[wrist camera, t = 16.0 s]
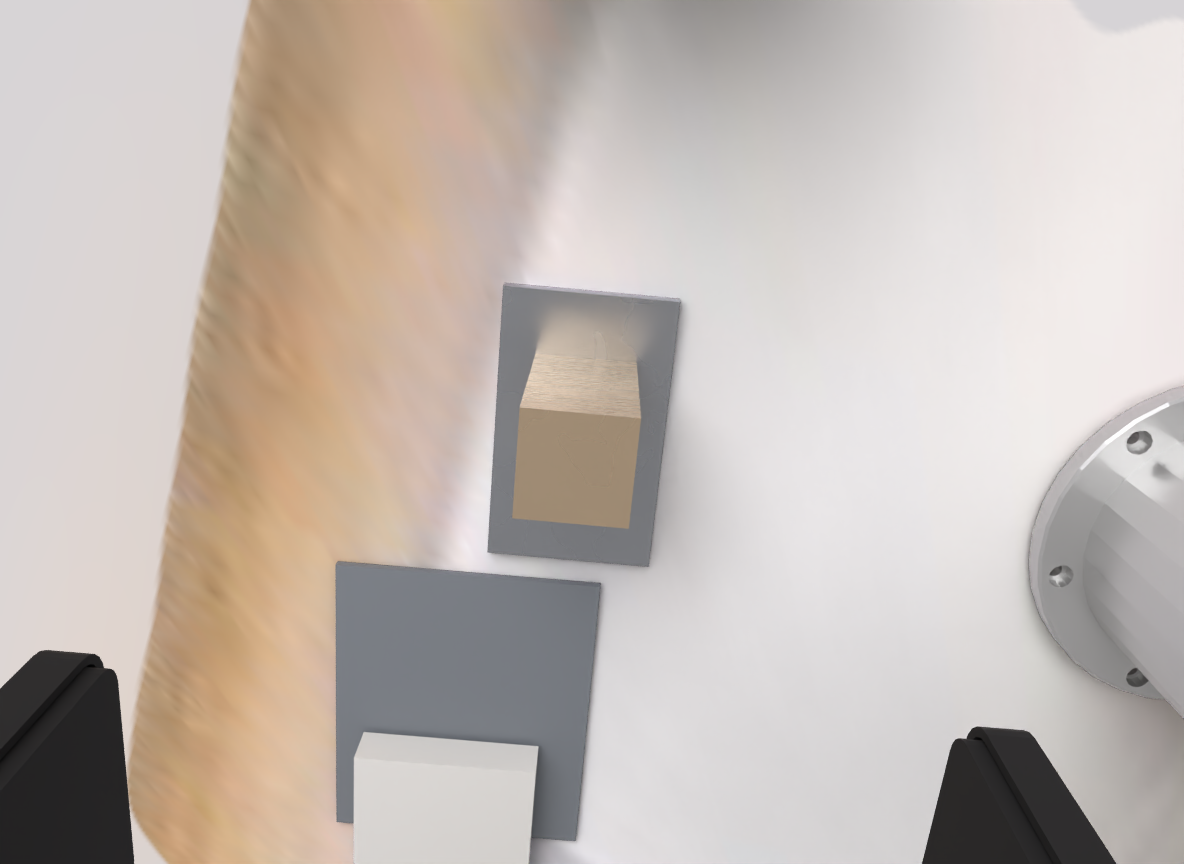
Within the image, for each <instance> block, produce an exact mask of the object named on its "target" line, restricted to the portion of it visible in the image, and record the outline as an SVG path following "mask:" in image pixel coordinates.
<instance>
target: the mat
mask: <svg viewBox="0 0 1184 864" xmlns="http://www.w3.org/2000/svg"><path fill="white" fill-rule="evenodd" d="M599 596H600V583H592V582H580V581H568V580H556V579H544V578H532V577H520V576H508V575H496V574H484V573H472V572H460V571H448V570H436V569H424V568H412V567H400V566H388V565H376V564H364V563H352V562H340V561H338V562H337V563H336V797H337V822H343V823H354V756H355V754H356V751H357V748H358V746H359V743H360V741H361V738H362V735H363V733H364V732H371V733H383V734H395V735H407V736H419V737H432V738H444V739H456V740H468V741H481V742H493V743H505V744H517V745H529V746H539V747H538V760H537V772H536V785H535V797H534V810H533V822H532V835H531V838H543V839H555V840H567V841H575V840H576V830H577V820H578V810H579V800H580V789H581V779H582V769H583V759H584V749H585V738H586V728H587V718H588V708H589V698H590V688H591V677H592V667H593V657H594V647H595V637H596V626H597V616H598V606H599Z"/></svg>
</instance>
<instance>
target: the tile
mask: <svg viewBox="0 0 1184 864" xmlns="http://www.w3.org/2000/svg"><path fill="white" fill-rule="evenodd" d="M538 747H539V746H529V745H517V744H505V743H493V742H481V741H468V740H456V739H444V738H432V737H419V736H407V735H395V734H383V733H371V732H364V733H363V735H362V738H361V741H360V743H359V746H358V748H357V751H356V754H355V756H354V860H353V864H529V860H530V847H531V835H532V822H533V810H534V797H535V785H536V772H537V760H538Z"/></svg>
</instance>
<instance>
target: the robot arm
mask: <svg viewBox="0 0 1184 864" xmlns="http://www.w3.org/2000/svg"><path fill="white" fill-rule="evenodd" d="M1131 435H1132V436H1131ZM1130 436H1131V437H1130ZM1129 437H1130V438H1129ZM1128 438H1129V439H1128ZM1029 571H1030V582H1031V590H1032V593H1033V596H1034V599H1035V602H1036V605H1037V608H1038V611H1039V614H1040V616H1041V618H1042V620H1043V621H1044V623H1045V624H1046V626H1047V628H1048V629H1049V631H1050V633H1051V634H1052V636H1053V637H1054V639H1055V640H1056V641H1057V642H1058V643H1059V645H1060V646H1061V647H1062V648H1063V649H1064V650H1065V652H1066V653H1067V654H1068V655H1069V656H1070V658H1071V659H1072V660H1073V661H1074V662H1076V663H1077V664H1078V665H1079V666H1081V667H1082V668H1083V669H1084V670H1086V671H1087V672H1088V673H1089V674H1091V675H1092V676H1093V677H1095V678H1097V679H1099V680H1101V681H1102V682H1104V683H1106V684H1108V685H1110V686H1112V687H1114V688H1116V689H1118V690H1121V691H1124V692H1128V693H1131V694H1135V695H1138V696H1142V697H1145V698H1151V699H1160V700H1167V701H1168V702H1169V703H1170V705H1171V706H1172V707H1173V708H1174V709H1175V710H1176V711H1177V712H1178V713H1179V715H1180V716H1181V717H1182V718H1183V719H1184V386H1182V387H1178V388H1174V389H1171V390H1168V391H1166V392H1164V393H1161V394H1159V395H1157V396H1154V397H1152V398H1150V399H1147V400H1145V401H1143V402H1140V403H1138V404H1137V405H1135V406H1133V407H1132V408H1130V409H1129V410H1127V411H1125V412H1124V413H1122V414H1121V415H1119V416H1118V417H1116V418H1114V419H1113V420H1111V421H1110V422H1108V423H1107V424H1106V425H1104V426H1103V427H1102V428H1101V429H1100V430H1099V431H1098V432H1096V433H1095V434H1094V435H1093V436H1092V437H1091V438H1090V439H1088V440H1087V441H1086V442H1085V443H1084V444H1083V445H1082V446H1081V447H1080V448H1079V449H1078V450H1077V451H1076V453H1075V454H1074V455H1073V456H1072V458H1071V459H1070V460H1069V461H1068V462H1067V464H1066V465H1065V466H1064V467H1063V468H1062V470H1061V471H1060V472H1059V473H1058V475H1057V477H1056V479H1055V480H1054V482H1053V484H1052V486H1051V488H1050V489H1049V491H1048V493H1047V495H1046V496H1045V498H1044V500H1043V502H1042V505H1041V507H1040V510H1039V513H1038V516H1037V519H1036V522H1035V525H1034V528H1033V531H1032V538H1031V546H1030V554H1029ZM0 864H134V854H133V843H132V832H131V820H130V809H129V798H128V787H127V776H126V765H125V754H124V743H123V732H122V722H121V710H120V700H119V688H118V680H117V676H116V673H115V672H114V671H113V670H112V669H106V668H104V667H103V663H102V661H101V659H100V657H99V656H97V655H95V654H86V653H75V652H63V651H51V650H44V651H40V652H38V653H37V654H36V655H34V656H33V657H32V658H31V659H30V660H29V661H28V662H27V663H26V664H25V665H24V666H23V667H22V668H21V669H20V670H19V671H18V672H17V673H16V674H15V675H14V676H13V677H12V678H11V679H10V680H9V681H7V682H6V684H4V685H3V686H2V688H1V689H0ZM922 864H1116V862H1115V861H1114V859H1113V858H1112V856H1111V855H1110V853H1109V852H1108V850H1107V848H1106V847H1105V845H1104V844H1103V842H1102V841H1101V839H1100V838H1099V836H1098V835H1097V833H1096V832H1095V830H1094V828H1093V827H1092V825H1091V824H1090V822H1089V821H1088V819H1087V818H1086V816H1085V815H1084V813H1083V812H1082V810H1081V809H1080V807H1079V805H1078V804H1077V802H1076V801H1075V799H1074V798H1073V796H1072V795H1071V793H1070V792H1069V790H1068V789H1067V787H1066V785H1065V784H1064V782H1063V781H1062V779H1061V778H1060V776H1059V775H1058V773H1057V772H1056V770H1055V769H1054V767H1053V765H1052V764H1051V762H1050V761H1049V759H1048V758H1047V756H1046V755H1045V753H1044V752H1043V750H1042V749H1041V747H1040V746H1039V744H1038V742H1037V741H1036V739H1035V738H1034V737H1033V736H1032V735H1031V734H1030V732H1027V731H1024V730H1013V729H1000V728H988V727H975V728H972V730H971V731H970V732H969V734H968V736H967V739H960V738H959V739H956V740H955V741H954V742H953V744H952V747H951V749H950V753H949V757H948V761H947V765H946V769H945V773H944V777H943V781H942V785H941V789H940V793H939V797H938V801H937V805H936V809H935V814H934V818H933V822H932V826H931V830H930V834H929V838H928V842H927V846H926V850H925V854H924V858H923V862H922Z"/></svg>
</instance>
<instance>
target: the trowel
mask: <svg viewBox="0 0 1184 864" xmlns="http://www.w3.org/2000/svg"><path fill="white" fill-rule="evenodd" d="M679 310H680V299H679V298H669V297H658V296H647V295H636V294H625V293H614V292H603V291H592V290H581V289H570V288H559V287H548V286H537V285H526V284H515V283H504V285H503V298H502V315H501V332H500V349H499V366H498V383H497V400H496V417H495V434H494V451H493V468H492V485H491V502H490V519H489V536H488V552H490V553H501V554H512V555H524V556H535V557H546V558H557V559H568V560H579V561H590V562H602V563H613V564H624V565H635V566H646V567H649V559H650V551H651V542H652V534H653V526H654V517H655V509H656V501H657V492H658V484H659V476H660V468H661V459H662V451H663V443H664V434H665V426H666V418H667V409H668V401H669V393H670V384H671V376H672V368H673V360H674V351H675V343H676V335H677V326H678V318H679Z"/></svg>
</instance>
